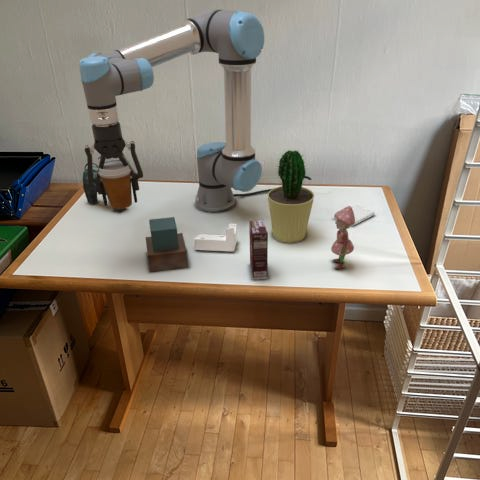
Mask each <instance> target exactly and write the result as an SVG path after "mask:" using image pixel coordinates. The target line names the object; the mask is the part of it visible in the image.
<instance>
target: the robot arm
mask: <svg viewBox="0 0 480 480" xmlns="http://www.w3.org/2000/svg"><path fill="white" fill-rule="evenodd" d="M264 45H265V31H264V27H263V24H262V23H261V21H260V20H259V17H257V16H256V15H254V14H253V13H250V12H245V11H242V10H226V9H224V10H223V9H211V10H209V11H205V12H202V13H199V14H196V15H193V16H192V17H189V18H185V19H184V20H181V23H180V24H179V25H178V26H175V27H173V28H171V29H170V28H169V29H168V30H164V31H162V32H160V33H157V34H154V35H151V36H148V37H146V38H144V39H141V40H138V41H135V42H132V43H129V44H127V45H124V46H121V47H119V48H116V49H113V50H111V51H108V52H104V53H102V52H93V53H91V54H89V55H88V57H84V58H81V60H80V61H79V63H78V68H79V74H80V82H81V84H82V88H83V93H84V97H85V100H86V107H87V111H88V117H89V121H90V123H91V130H92V135H93V139H94V142H93V144H92V145H88V144H85V146H84V154H85V155H86V157H87V158H86V160H87V161H86V164H87V163H88V165H87V168H88V182H89V183H95V184H96V187H97V195H101V196H102V201H103V206H104V207H107V206H108V197H107V195H106V193H105V188H104V185H103V183H102V181H100V179H101V176H100V175H99V174H98V172H99V168H101V169H103V167H104V163H105V161H106V160H111V159H118V160H120V161H121V162H122V163H123V165H124V166H125V167H126V166H127V165H130V166H129V168H130V169H131V171H130V175H131V191H132V195H133V201H134V204H135V203H136V204H137V203H138V195H137V191H140V186H139V185H140V184H139V179H143V178H144V172H143V169H142V166H141V163H140V160H139V156H138V154H137V152H136V143H135V141H134V140H131V141H126V140H125V139H124V137H123V132H122V127H121V122H119V121H120V116H119V115H120V114H119V110H118V104H117V98H116V97H119V96H122V95H126V94H131V93H136V92H142V91H144V90H147V89H150V88H151V87H152V86H153V84H154V79H155V76H154V69H153V68H154V67H157V66H159V65H163V64H165V63H167V62H169V61H172V60H176V59H177V58H180V57H183V56H184V55H187V54H190V55H193V56H194V55H197V54H200V53H214V54H215V53H216V54H218V65H220V67H221V68H222V69H223V85H224V116H225V117H224V119H225V120H224V122H225V123H224V126H225V141H214V142H207V143H204V144H201V145H199V146H198V147H197V149H196V165H197V174H198V189H197V193H196V195H195V206H196V208H197V209H198V210H201V211H203V212H207V213H208V212H209V213H221V212H225V211H228V210H231V209H232V208H233V207H234V206H235V205H236V199H235V197H249V196H254V195H260V194H264V193H268V192H269V191H270V190H272V189H274V188H275V187H272V188H268V189H262V190H258V191H257V190H256V191H252V190H253V189H254V188H255V187H256V186H257V184H258V183H259V182H260V180H261V177H262V175H263V167H262V163H261V162H260V161H259V160H257V159H256V149H255V148H254V147H253V146H252V69H253V67H254V66H255V65H257V58H258V57H260V55H261V53H262V50H263V49H264ZM125 148H127V150H128V151H129V152H130V156H131V157H132V160H133V163H134V166H135V169H136V171H135V170H134V167H133V166H132V165H131V164H130V162H129V160H128V159H127V157H126V156H125V154H124V152H123V151H124V150H125ZM95 151H96V152H97V153H98V154H99V155H100V156H101V158H99V163H98V166H99V168H98V172H97V175H96V177H93V166H94V164H93V163H94V161H93V154H94V153H95ZM306 176H307V177H306ZM306 176H305V177H304V179H306V180H308V181H312V178H311V177H310V176H308V175H306ZM232 189H233V190H235V191H238V192H242V193H233V190H232ZM249 191H252V192H249Z"/></svg>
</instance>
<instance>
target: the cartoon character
mask: <svg viewBox="0 0 480 480" xmlns="http://www.w3.org/2000/svg"><path fill="white" fill-rule="evenodd" d="M352 207H353V206H351V205H348V206H346V207H344V208H342V209H340V210H338V211H337V212H335V213H334V215H333V216H334V219H335V218H336V219H337V220H336V219H335V220H336V221H335V222H334V224H335V225H336V229H337V232H336V240H335V241H334V242H333V244H332V245H331V248H330V250H331V252H332V254H334V255H337V256H338V258H334V259H333V258H332V262H335V263H339V264H338V265H336V266H334V269H335V270H339V269H343V268H344V267H345V257H346V255H350V254H351V253H352V252H353V251H354V250H355V246H354V244H353V241H352V240H351V239H349V232H348V230H349V229H350V228H351V227H352V226H351V225H354V224H355V217H354V212H353V209H352ZM354 226H355V225H354ZM347 229H348V230H347Z"/></svg>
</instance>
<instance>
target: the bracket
mask: <svg viewBox="0 0 480 480" xmlns="http://www.w3.org/2000/svg"><path fill="white" fill-rule="evenodd" d="M237 236H238V224H237V223H228V227H226V228H225V234H207V233H206V234H205V233H204V234H203V233H199V234H198V235H196V237H195V238H194V250H195V251H213V252H215V251H216V252H232V253H233V252H235V250H236V245H237V243H238V242H237V239H238V237H237Z"/></svg>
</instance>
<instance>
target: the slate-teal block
mask: <svg viewBox="0 0 480 480" xmlns="http://www.w3.org/2000/svg"><path fill="white" fill-rule="evenodd" d="M148 222H149V230H150V231H149V232H150V237H151V239H152V245H153V251H162V250H170V249H179V242H178V233H179V232H178V226H177V222H176V218H175V216H169V217H162V218H161V217H160V218H152V219H151V218H150V219H148Z"/></svg>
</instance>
